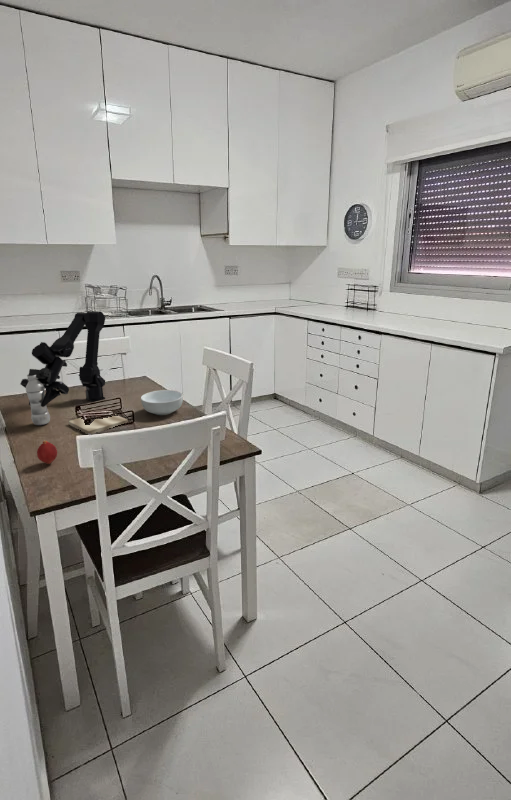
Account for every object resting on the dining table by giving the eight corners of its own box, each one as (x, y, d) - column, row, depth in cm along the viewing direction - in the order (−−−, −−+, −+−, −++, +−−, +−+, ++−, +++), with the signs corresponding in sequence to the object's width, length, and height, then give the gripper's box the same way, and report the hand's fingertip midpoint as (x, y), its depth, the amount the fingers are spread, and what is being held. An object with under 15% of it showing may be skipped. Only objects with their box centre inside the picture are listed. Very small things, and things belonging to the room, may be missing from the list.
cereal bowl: (134, 412, 192) (132, 396, 189) (167, 403, 203) (165, 387, 201) (158, 422, 181) (157, 404, 178) (192, 411, 192) (191, 395, 190)
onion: (42, 460, 149) (38, 437, 147) (61, 459, 150) (57, 436, 147) (36, 468, 144) (32, 444, 141) (55, 467, 144) (51, 443, 142)
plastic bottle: (54, 421, 183) (45, 372, 176) (42, 428, 176) (32, 377, 170) (41, 420, 184) (32, 371, 178) (28, 426, 178) (18, 376, 172)
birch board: (107, 414, 190) (106, 410, 190) (128, 423, 180) (127, 419, 179) (69, 424, 179) (68, 421, 179) (89, 435, 169) (88, 431, 168)
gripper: (19, 358, 179) (1, 394, 173) (59, 361, 173) (42, 398, 167) (37, 373, 189) (21, 407, 182) (76, 376, 183) (61, 411, 177)
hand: (36, 405), depth 177 cm, fingers closed on plastic bottle, 5 cm apart
